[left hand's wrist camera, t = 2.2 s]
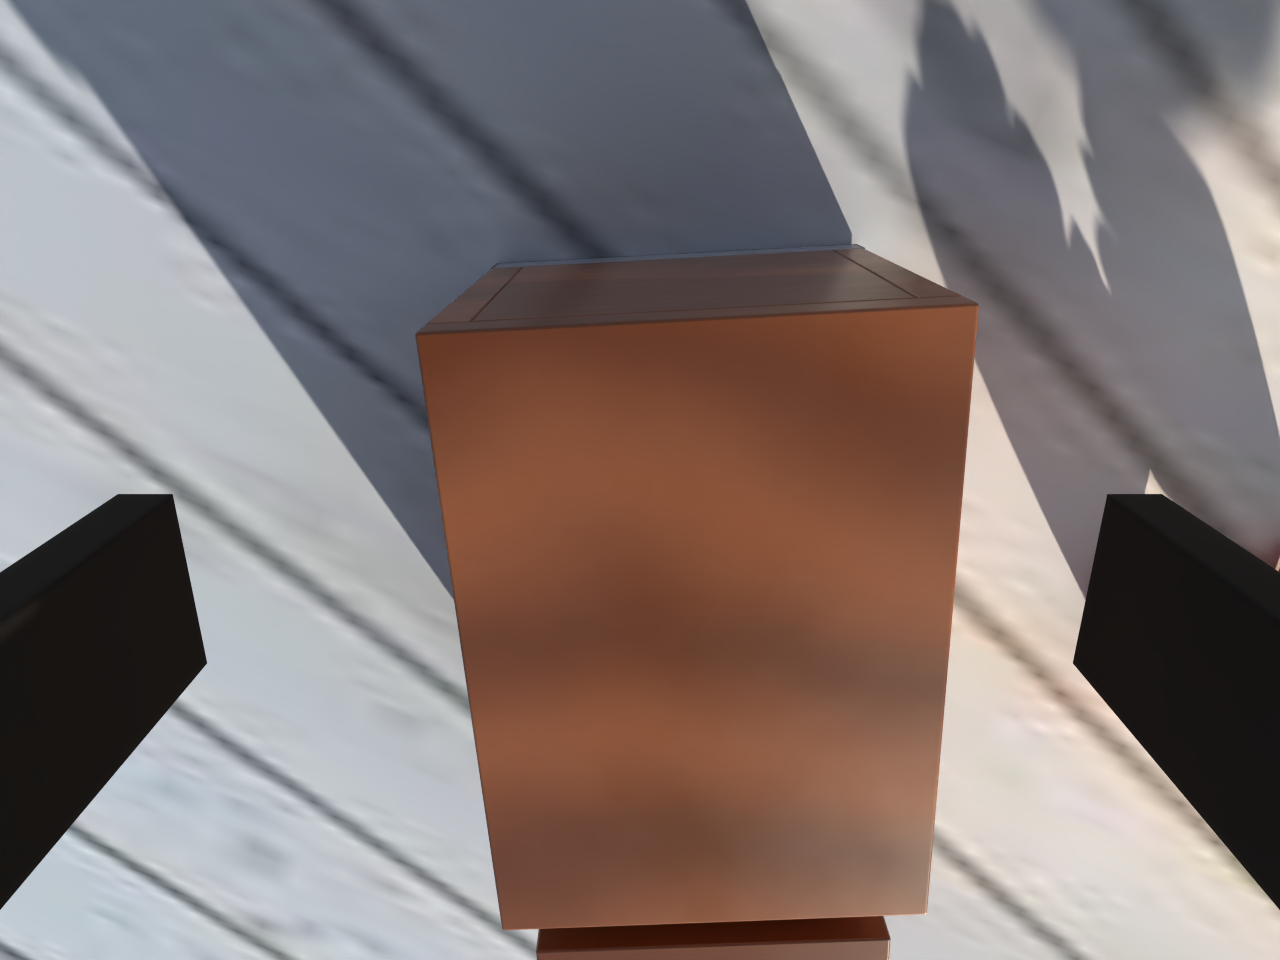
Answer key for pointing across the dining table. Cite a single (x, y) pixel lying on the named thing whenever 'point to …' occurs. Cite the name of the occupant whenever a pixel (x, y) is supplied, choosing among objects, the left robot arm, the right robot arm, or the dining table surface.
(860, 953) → the drawer
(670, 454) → the cabinet
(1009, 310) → the dining table surface
